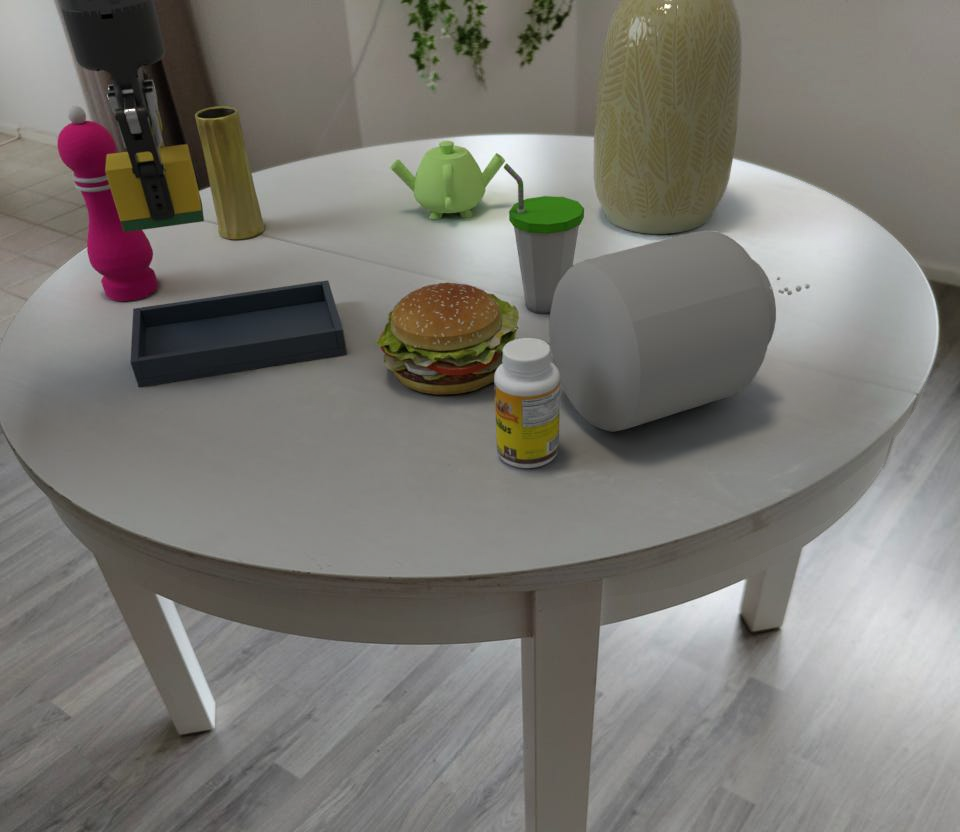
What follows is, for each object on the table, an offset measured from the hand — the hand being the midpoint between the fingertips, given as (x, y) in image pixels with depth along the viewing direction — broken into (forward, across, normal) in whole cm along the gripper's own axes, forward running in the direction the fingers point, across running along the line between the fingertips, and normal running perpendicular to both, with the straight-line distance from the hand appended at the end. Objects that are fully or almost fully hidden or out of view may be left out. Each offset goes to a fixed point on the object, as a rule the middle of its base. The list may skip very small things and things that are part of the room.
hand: (163, 207), depth 90 cm
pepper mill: (+15, -19, -8) cm, 26 cm away
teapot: (+15, -31, +34) cm, 49 cm away
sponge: (+1, 0, 0) cm, 1 cm away
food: (+15, +12, +25) cm, 32 cm away
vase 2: (+15, -18, +59) cm, 64 cm away
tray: (+15, -1, +4) cm, 16 cm away
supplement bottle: (+15, +29, +28) cm, 43 cm away
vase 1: (+15, -33, +6) cm, 37 cm away
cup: (+15, +1, +38) cm, 41 cm away
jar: (+15, +22, +45) cm, 52 cm away
